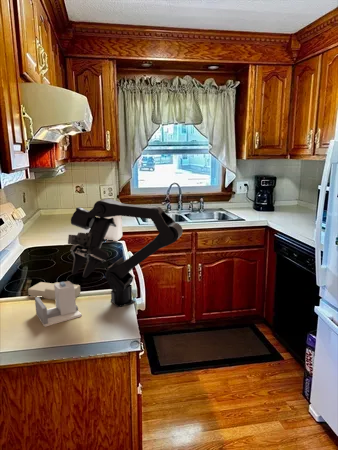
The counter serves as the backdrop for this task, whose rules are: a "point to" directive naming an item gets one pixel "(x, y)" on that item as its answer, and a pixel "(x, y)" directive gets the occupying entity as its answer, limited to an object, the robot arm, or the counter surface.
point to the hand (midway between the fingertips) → (78, 275)
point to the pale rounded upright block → (114, 229)
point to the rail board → (52, 314)
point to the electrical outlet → (48, 290)
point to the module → (65, 297)
